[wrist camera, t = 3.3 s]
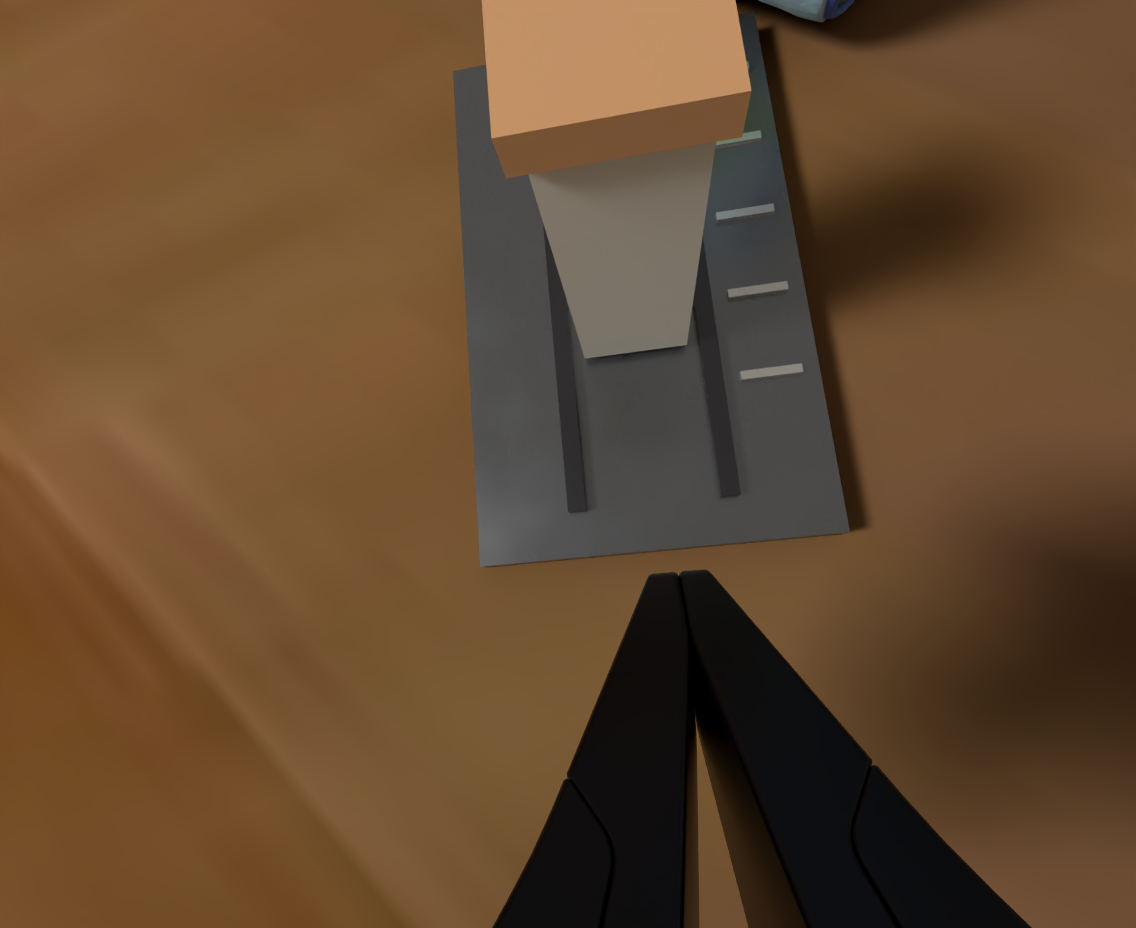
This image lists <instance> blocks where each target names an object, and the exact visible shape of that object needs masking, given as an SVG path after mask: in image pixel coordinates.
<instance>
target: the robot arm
mask: <svg viewBox="0 0 1136 928" xmlns="http://www.w3.org/2000/svg"><path fill="white" fill-rule="evenodd" d="M695 717H696V721H695ZM696 723H697V729H698V733H699V738H700V742H701V746H702V750H703V754H704V758H705V762H706V766H707V769H708V773H709V777H710V781H711V785H712V789H713V792H714V796H715V800H716V804H717V808H718V812H719V815H720V819H721V823H722V827H723V831H724V835H725V838H726V842H727V846H728V850H729V854H730V858H731V861H732V865H733V869H734V873H735V877H736V881H737V884H738V888H739V892H740V896H741V900H742V904H743V908H744V911H745V915H746V919H747V923H748V927H749V928H1031V927H1030V926H1029V925H1028V924H1027V923H1026V922H1025V921H1024V920H1023V919H1022V918H1021V917H1020V916H1019V915H1018V914H1017V913H1016V912H1015V911H1014V910H1013V909H1012V908H1011V907H1010V906H1009V905H1008V904H1007V903H1006V902H1005V901H1004V900H1003V899H1002V898H1000V897H999V896H998V895H997V894H996V893H995V892H994V891H993V890H992V889H991V888H990V887H989V886H988V885H987V884H986V883H985V882H984V881H983V880H982V879H981V878H980V877H979V876H978V875H977V874H976V873H975V872H974V871H973V870H972V869H971V868H970V867H969V865H968V864H967V863H966V862H965V861H964V860H963V859H962V858H961V857H960V856H959V855H958V854H957V853H956V852H955V851H954V850H953V849H952V848H951V847H950V846H949V845H948V844H947V843H946V842H945V841H944V840H943V839H942V838H941V837H940V836H939V835H938V834H937V833H936V831H935V830H934V829H933V828H932V827H931V826H930V825H929V824H928V823H927V822H926V820H925V819H924V818H923V817H922V816H921V815H920V814H919V813H918V812H917V811H916V809H915V808H914V807H913V806H912V805H911V804H910V803H909V802H908V801H907V799H906V798H905V797H904V796H903V795H902V794H901V793H900V792H899V790H898V789H897V788H896V787H895V786H894V785H893V783H892V782H891V781H890V780H889V779H888V778H887V776H886V775H885V774H884V773H883V772H882V771H881V769H880V768H879V767H878V766H876V765H873V766H872V760H871V758H870V757H869V756H868V755H867V754H866V752H865V751H864V750H863V749H862V748H861V747H860V745H859V744H858V743H857V742H856V741H855V740H854V739H853V737H852V736H851V735H850V734H849V733H848V732H847V730H846V729H845V728H844V727H843V726H842V725H841V723H840V722H839V721H838V720H837V719H836V718H835V716H834V715H833V714H832V713H831V712H830V711H829V709H828V708H827V707H826V706H825V705H824V704H823V703H822V701H821V700H820V699H819V698H818V697H817V696H816V694H815V693H814V692H813V691H812V690H811V689H810V687H809V686H808V685H807V684H806V683H805V682H804V680H803V679H802V678H801V677H800V676H799V675H798V673H797V672H796V671H795V670H794V669H793V668H792V667H791V665H790V664H789V663H788V662H787V661H786V660H785V658H784V657H783V656H782V655H781V654H780V653H779V651H778V650H777V649H776V648H775V647H774V646H773V644H772V643H771V642H770V641H769V640H768V639H767V638H766V636H765V635H764V634H763V633H762V632H761V631H760V629H759V628H758V627H757V626H756V625H755V624H754V622H753V621H752V620H751V619H750V618H749V617H748V615H747V614H746V613H745V612H744V611H743V610H742V608H741V607H740V606H739V605H738V604H737V603H736V602H735V600H734V599H733V598H732V597H731V596H730V595H729V593H728V592H727V591H726V590H725V589H724V588H723V586H722V585H721V584H720V583H719V582H718V581H717V579H716V578H715V577H714V576H713V575H712V574H711V573H710V572H709V571H707V570H694V571H683V572H681V573H680V575H679V576H678V575H677V573H675V572H670V573H659V574H651V575H650V576H649V577H648V579H647V581H646V583H645V586H644V588H643V590H642V593H641V595H640V598H639V600H638V603H637V605H636V607H635V610H634V612H633V615H632V617H631V620H630V622H629V624H628V627H627V629H626V632H625V634H624V636H623V639H622V641H621V644H620V646H619V649H618V651H617V653H616V656H615V658H614V661H613V663H612V666H611V668H610V670H609V673H608V675H607V678H606V680H605V682H604V685H603V687H602V690H601V692H600V695H599V697H598V699H597V702H596V704H595V707H594V709H593V711H592V714H591V716H590V719H589V721H588V724H587V726H586V728H585V731H584V733H583V736H582V738H581V741H580V743H579V745H578V748H577V750H576V753H575V755H574V757H573V760H572V762H571V765H570V767H569V770H568V772H567V778H568V779H565V780H564V781H563V783H562V786H561V788H560V791H559V793H558V795H557V798H556V800H555V803H554V805H553V807H552V810H551V812H550V814H549V816H548V819H547V821H546V823H545V825H544V828H543V830H542V832H541V834H540V836H539V839H538V841H537V843H536V845H535V847H534V850H533V852H532V854H531V856H530V858H529V860H528V862H527V863H526V865H525V867H524V869H523V871H522V873H521V875H520V877H519V879H518V881H517V883H516V885H515V887H514V888H513V890H512V892H511V894H510V896H509V898H508V900H507V902H506V904H505V905H504V907H503V909H502V911H501V913H500V914H499V916H498V918H497V920H496V922H495V923H494V925H493V927H492V928H699V872H698V798H697V740H696Z"/></svg>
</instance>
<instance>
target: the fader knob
mask: <svg viewBox="0 0 1136 928" xmlns="http://www.w3.org/2000/svg"><path fill="white" fill-rule="evenodd" d="M482 9H483V24H484V38H485V53H486V68H487V82H488V97H489V111H490V126H491V139H492V142H493V144H494V147H495V150H496V152H497V155H498V158H499V161H500V163H501V166H502V169H503V172H504V174H505V177H506V178H511V177H517V176H523V175H529V178H530V181H531V185H532V188H533V191H534V194H535V198H536V201H537V204H538V207H539V211H540V214H541V217H542V220H543V224H544V227H545V230H546V234H547V237H548V240H549V243H550V247H551V250H552V253H553V256H554V260H555V263H556V266H557V269H558V273H559V276H560V279H561V282H562V286H563V289H564V292H565V296H566V299H567V302H568V305H569V309H570V312H571V315H572V318H573V322H574V325H575V328H576V331H577V335H578V338H579V341H580V344H581V348H582V351H583V354H584V358H585V359H586V358H593V357H601V356H608V355H616V354H623V353H631V352H638V351H645V350H653V349H660V348H668V347H675V346H683V345H687V340H688V333H689V326H690V319H691V312H692V306H693V299H694V292H695V285H696V278H697V271H698V264H699V257H700V250H701V243H702V236H703V229H704V222H705V215H706V209H707V202H708V195H709V188H710V181H711V174H712V167H713V160H714V153H715V146H716V142H718V141H723V140H729V139H735V138H741V137H742V135H743V130H744V125H745V120H746V115H747V110H748V105H749V100H750V96H751V85H750V80H749V74H748V68H747V63H746V57H745V51H744V46H743V40H742V34H741V29H740V23H739V17H738V12H737V6H736V0H482Z"/></svg>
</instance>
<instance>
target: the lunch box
mask: <svg viewBox="0 0 1136 928" xmlns="http://www.w3.org/2000/svg"><path fill="white" fill-rule="evenodd" d="M758 1H761V2H763V3H766V4H769V5H772V6H775V7H777V8H780V9H782V10H784V11H786V12H789V13H791V14H793V15H795V16H798V17H800V18H804V19H808V20H812V21H816V22H824V21H825V20H826V19H833V18H836V17H838V16H839V15H841V14H842V13H843V12H845V11H846V10H847V9H848V8H849V7H850V6H851V4H852V3H853V2H854V1H855V0H758Z"/></svg>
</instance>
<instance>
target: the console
mask: <svg viewBox="0 0 1136 928" xmlns="http://www.w3.org/2000/svg"><path fill="white" fill-rule="evenodd" d="M738 17H739V23H740V29H741V34H742V40H743V46H744V51H745V57H746V63H747V68H748V74H749V80H750V85H751V96H750V100H749V105H748V110H747V115H746V120H745V125H744V130H743V135H742V137H741V138H735V139H729V140H723V141H718V142H716V146H715V153H714V160H713V167H712V174H711V181H710V188H709V195H708V202H707V209H706V215H705V222H704V229H703V236H702V243H701V250H700V257H699V264H698V271H697V278H696V285H695V292H694V299H693V306H692V312H691V319H690V326H689V333H688V340H687V345H683V346H675V347H668V348H660V349H653V350H645V351H638V352H631V353H623V354H616V355H608V356H601V357H593V358H586V359H585V358H584V354H583V351H582V348H581V344H580V341H579V338H578V335H577V331H576V328H575V325H574V322H573V318H572V315H571V312H570V309H569V305H568V302H567V299H566V296H565V292H564V289H563V286H562V282H561V279H560V276H559V273H558V269H557V266H556V263H555V260H554V256H553V253H552V250H551V247H550V243H549V240H548V237H547V234H546V230H545V227H544V224H543V220H542V217H541V214H540V211H539V207H538V204H537V201H536V198H535V194H534V191H533V188H532V185H531V181H530V178H529V175H523V176H517V177H511V178H506V177H505V174H504V172H503V169H502V166H501V163H500V161H499V158H498V155H497V152H496V150H495V147H494V144H493V142H492V139H491V126H490V111H489V97H488V82H487V68H486V65H483V66H478V67H473V68H468V69H463V70H458V71H453V78H454V97H455V115H456V133H457V151H458V170H459V188H460V206H461V225H462V243H463V261H464V279H465V298H466V316H467V334H468V353H469V371H470V389H471V407H472V426H473V444H474V462H475V481H476V499H477V517H478V535H479V554H480V567H497V566H508V565H519V564H529V563H540V562H551V561H561V560H572V559H583V558H594V557H604V556H615V555H626V554H636V553H647V552H658V551H668V550H679V549H690V548H700V547H711V546H722V545H732V544H743V543H754V542H764V541H775V540H786V539H796V538H807V537H818V536H828V535H839V534H844V533H848V532H850V529H849V524H848V518H847V513H846V508H845V502H844V497H843V491H842V486H841V480H840V475H839V469H838V464H837V459H836V453H835V448H834V442H833V437H832V431H831V426H830V421H829V415H828V410H827V404H826V399H825V393H824V388H823V382H822V377H821V372H820V366H819V361H818V355H817V350H816V344H815V339H814V333H813V328H812V323H811V317H810V312H809V306H808V301H807V295H806V290H805V285H804V279H803V274H802V268H801V263H800V257H799V252H798V246H797V241H796V236H795V230H794V225H793V219H792V214H791V208H790V203H789V197H788V192H787V187H786V181H785V176H784V170H783V165H782V159H781V154H780V149H779V143H778V138H777V132H776V127H775V121H774V116H773V110H772V105H771V100H770V94H769V89H768V83H767V78H766V72H765V67H764V61H763V56H762V51H761V45H760V40H759V34H758V29H757V23H756V18H755V12H749V13H744V14H739V15H738Z"/></svg>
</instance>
